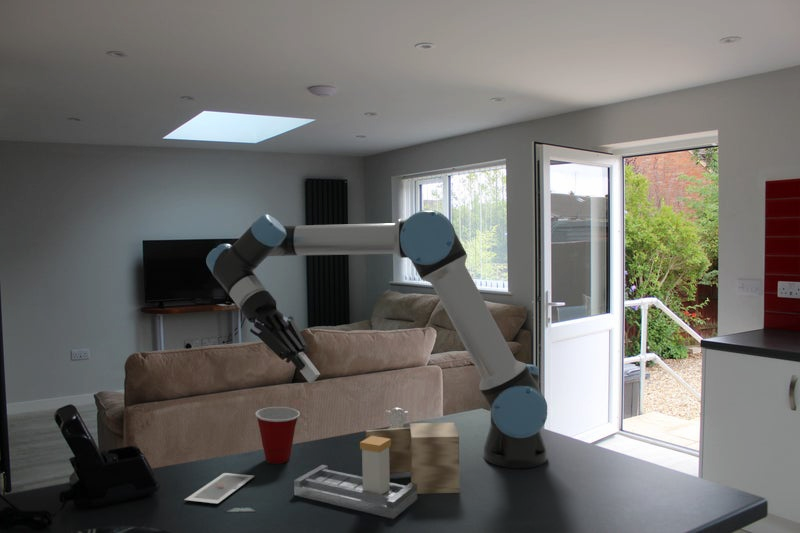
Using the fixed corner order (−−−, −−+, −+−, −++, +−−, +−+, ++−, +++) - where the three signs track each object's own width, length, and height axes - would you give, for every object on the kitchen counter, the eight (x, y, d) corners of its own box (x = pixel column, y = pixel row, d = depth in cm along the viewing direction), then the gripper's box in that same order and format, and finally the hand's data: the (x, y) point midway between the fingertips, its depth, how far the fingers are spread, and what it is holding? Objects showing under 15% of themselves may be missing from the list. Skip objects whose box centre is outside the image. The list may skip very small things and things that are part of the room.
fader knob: (360, 492, 121) (359, 442, 121) (372, 484, 125) (371, 435, 125) (380, 497, 119) (379, 445, 119) (391, 488, 123) (390, 438, 123)
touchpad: (184, 505, 123) (184, 494, 123) (224, 477, 138) (224, 468, 138) (218, 508, 121) (217, 498, 121) (254, 480, 136) (254, 471, 136)
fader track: (294, 495, 126) (294, 480, 126) (322, 478, 135) (322, 464, 135) (393, 518, 115) (393, 502, 114) (417, 499, 123) (417, 483, 123)
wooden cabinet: (454, 474, 137) (453, 422, 136) (459, 492, 126) (459, 436, 126) (367, 475, 136) (366, 423, 136) (365, 494, 126) (364, 438, 125)
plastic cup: (291, 469, 141) (290, 418, 140) (248, 466, 143) (247, 416, 143) (307, 453, 152) (306, 406, 151) (267, 451, 154) (266, 404, 153)
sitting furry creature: (381, 464, 144) (380, 414, 143) (374, 452, 152) (373, 405, 152) (419, 460, 146) (418, 411, 145) (410, 448, 154) (409, 402, 154)
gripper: (264, 308, 144) (323, 383, 137) (224, 314, 133) (286, 396, 125) (281, 286, 141) (341, 361, 134) (242, 291, 130) (305, 373, 122)
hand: (314, 378), depth 130 cm, fingers closed
